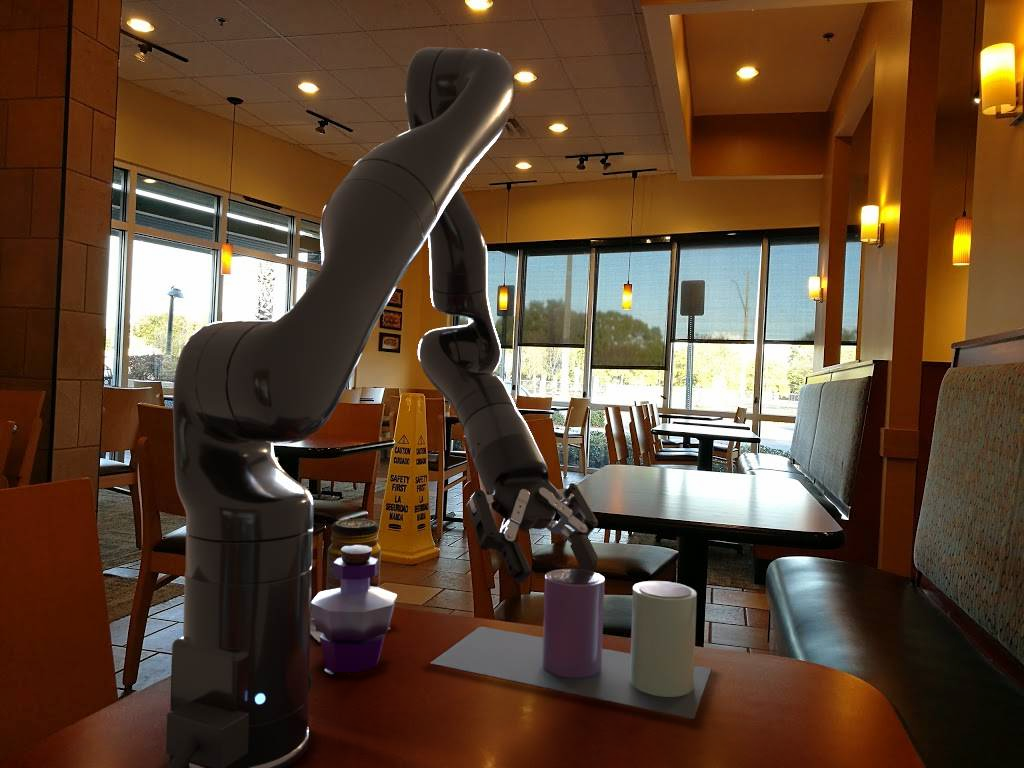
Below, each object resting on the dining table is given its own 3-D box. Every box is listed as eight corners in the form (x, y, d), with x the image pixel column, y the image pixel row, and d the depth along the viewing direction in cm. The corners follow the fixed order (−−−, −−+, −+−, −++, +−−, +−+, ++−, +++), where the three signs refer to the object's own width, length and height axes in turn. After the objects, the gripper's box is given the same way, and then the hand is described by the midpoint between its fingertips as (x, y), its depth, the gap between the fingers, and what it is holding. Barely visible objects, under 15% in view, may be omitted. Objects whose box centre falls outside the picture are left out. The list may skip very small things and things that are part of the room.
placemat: (693, 725, 63) (693, 718, 63) (429, 669, 73) (429, 663, 73) (711, 674, 74) (712, 668, 74) (480, 631, 84) (480, 625, 84)
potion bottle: (341, 645, 78) (345, 534, 78) (412, 659, 75) (415, 543, 75) (289, 675, 70) (292, 551, 70) (365, 692, 67) (369, 562, 67)
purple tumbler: (591, 683, 69) (595, 588, 69) (533, 671, 72) (536, 579, 72) (608, 660, 75) (611, 572, 75) (553, 650, 77) (556, 565, 77)
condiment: (391, 630, 83) (394, 525, 83) (318, 643, 79) (321, 532, 78) (366, 611, 89) (369, 514, 89) (298, 622, 85) (301, 520, 84)
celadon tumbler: (687, 702, 66) (691, 602, 66) (622, 689, 68) (626, 592, 68) (697, 677, 71) (701, 585, 71) (637, 666, 74) (640, 576, 74)
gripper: (462, 432, 79) (515, 563, 69) (567, 430, 86) (629, 547, 77) (438, 474, 83) (486, 602, 74) (540, 468, 91) (595, 584, 82)
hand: (558, 574), depth 75 cm, fingers open, 8 cm apart
